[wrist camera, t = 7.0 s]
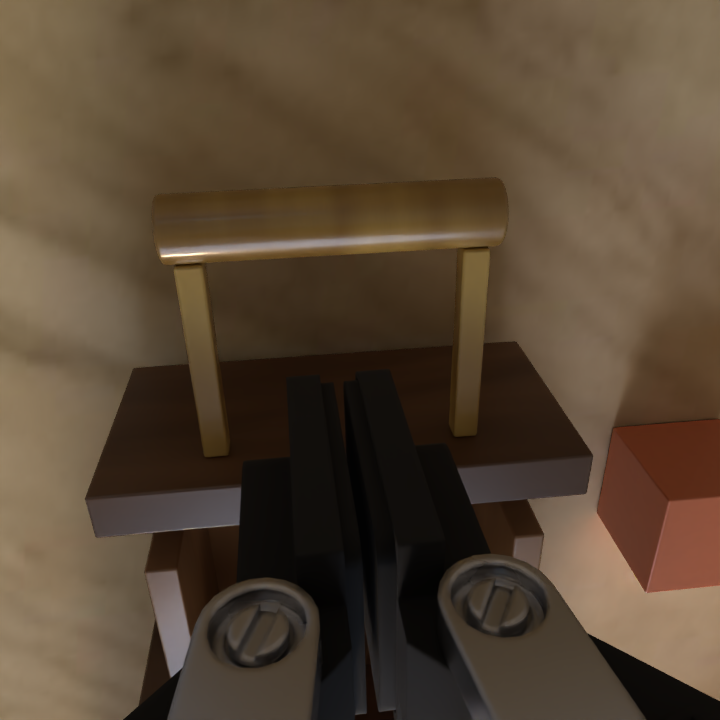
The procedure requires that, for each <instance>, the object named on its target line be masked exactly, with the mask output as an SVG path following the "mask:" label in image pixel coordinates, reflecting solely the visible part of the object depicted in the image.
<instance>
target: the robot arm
mask: <svg viewBox="0 0 720 720" xmlns="http://www.w3.org/2000/svg"><path fill="white" fill-rule="evenodd" d="M286 385H287V405H288V424H289V444H290V457H280V458H268V459H257V460H246V461H243V466H242V482H241V501H240V521H239V541H238V560H237V580H236V584H234V585H231V586H229V587H228V588H226V589H225V590H223V591H222V592H220V593H219V594H217V595H215V596H214V597H213V598H212V599H211V601H210V602H209V603H208V604H207V605H206V606H205V607H204V608H203V609H202V611H201V613H200V615H199V617H198V619H197V622H196V624H195V626H194V630H193V633H192V636H191V640H190V643H189V647H188V650H187V653H186V657H185V660H184V664H183V667H182V669H180V670H179V671H178V672H177V673H176V674H175V675H174V676H172V677H171V678H170V679H169V680H168V681H167V682H166V683H164V684H163V685H162V686H161V687H160V688H159V689H158V690H156V691H155V692H154V693H153V694H152V695H151V696H150V697H148V698H147V699H146V700H145V701H144V702H143V703H142V704H140V705H139V706H138V707H137V708H136V709H135V710H134V711H133V712H131V713H130V714H129V715H128V716H127V717H126V718H125V719H123V720H355V715H358V714H366V713H367V702H366V667H365V632H364V623H365V629H366V635H367V642H368V648H369V655H370V661H371V668H372V674H373V680H374V687H375V693H376V700H377V706H378V710H379V712H382V711H390V710H393V714H394V720H720V701H718V700H716V699H714V698H712V697H710V696H708V695H706V694H704V693H702V692H700V691H698V690H697V689H695V688H693V687H691V686H689V685H687V684H685V683H683V682H681V681H679V680H677V679H675V678H673V677H671V676H669V675H667V674H665V673H664V672H662V671H660V670H658V669H656V668H654V667H652V666H650V665H648V664H646V663H644V662H642V661H640V660H638V659H636V658H634V657H632V656H630V655H629V654H627V653H625V652H623V651H621V650H619V649H617V648H615V647H613V646H611V645H609V644H607V643H605V642H603V641H601V640H599V639H597V638H596V637H594V636H592V635H590V634H588V633H586V631H585V630H584V628H583V627H582V625H581V624H580V622H579V621H578V620H577V618H576V617H575V615H574V614H573V612H572V611H571V609H570V608H569V606H568V605H567V604H566V602H565V601H564V599H563V598H562V596H561V595H560V593H559V592H558V591H557V589H556V588H555V586H554V585H553V584H552V583H551V581H550V580H549V579H548V578H547V577H546V576H545V575H544V574H543V573H542V572H541V571H540V570H538V569H536V568H535V567H533V566H532V565H530V564H529V563H527V562H525V561H522V560H519V559H516V558H513V557H511V556H506V555H498V554H491V552H490V549H489V547H488V544H487V542H486V539H485V537H484V534H483V532H482V529H481V527H480V524H479V522H478V519H477V517H476V514H475V512H474V509H473V507H472V504H471V502H470V499H469V497H468V494H467V492H466V489H465V487H464V484H463V482H462V479H461V477H460V474H459V472H458V469H457V467H456V464H455V462H454V459H453V457H452V454H451V452H450V450H449V448H448V446H447V444H445V443H434V444H423V445H414V442H413V439H412V436H411V433H410V430H409V427H408V423H407V420H406V417H405V414H404V411H403V408H402V405H401V402H400V399H399V396H398V393H397V390H396V387H395V384H394V381H393V378H392V375H391V372H390V369H380V370H367V371H356V373H355V380H352V381H344V382H343V392H344V417H345V442H346V452H345V447H344V441H343V435H342V429H341V423H340V418H339V412H338V406H337V400H336V394H335V388H334V383H333V382H327V383H321V382H320V375H319V374H317V375H304V376H291V377H286Z"/></svg>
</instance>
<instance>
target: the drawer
mask: <svg viewBox="0 0 720 720" xmlns="http://www.w3.org/2000/svg"><path fill="white" fill-rule="evenodd" d="M508 215H509V209H508V198H507V193H506V189H505V186H504V183H503V182H502V180H501V179H499V178H496V177H494V178H474V179H454V180H433V181H413V182H393V183H373V184H352V185H332V186H312V187H292V188H271V189H251V190H231V191H211V192H190V193H170V194H158V195H156V196H155V197H154V200H153V204H152V229H153V237H154V243H155V247H156V251H157V254H158V257H159V259H160V261H161V263H162V264H165V265H175V266H174V269H173V271H174V277H175V283H176V289H177V295H178V301H179V307H180V313H181V319H182V326H183V332H184V338H185V344H186V350H187V356H188V362H189V364H184V365H170V366H155V367H141V368H134V369H133V371H132V374H131V377H130V379H129V382H128V385H127V387H126V390H125V393H124V395H123V398H122V401H121V403H120V406H119V409H118V411H117V414H116V417H115V419H114V422H113V425H112V427H111V430H110V433H109V436H108V438H107V441H106V444H105V446H104V449H103V452H102V454H101V457H100V460H99V462H98V465H97V468H96V470H95V473H94V476H93V478H92V481H91V484H90V486H89V489H88V492H87V495H86V497H85V500H86V504H87V507H88V511H89V515H90V518H91V522H92V525H93V529H94V533H95V536H96V537H97V538H101V537H113V536H124V535H135V534H146V533H153V536H152V541H151V545H150V550H149V554H148V558H147V563H146V567H145V572H144V573H145V577H146V581H147V585H148V589H149V593H150V598H151V602H152V606H153V610H154V614H155V618H156V623H157V627H158V631H159V635H160V639H161V643H162V647H163V652H164V656H165V660H166V664H167V668H168V672H169V676H170V678H171V677H172V676H174V675H175V674H176V673H177V672H178V671H179V670H180V669H182V667H183V664H184V660H185V657H186V653H187V650H188V647H189V643H190V640H191V636H192V633H193V630H194V626H195V624H196V622H197V619H198V617H199V615H200V613H201V611H202V609H203V608H204V607H205V606H206V605H207V604H208V603H209V602H210V601H211V599H212V598H213V597H214V596H215V595H217V594H219V593H220V592H222V591H223V590H225V589H226V588H228V587H229V586H231V585H234V584H236V580H237V560H238V541H239V521H240V501H241V482H242V466H243V461H246V460H257V459H268V458H280V457H290V444H289V424H288V405H287V385H286V377H291V376H304V375H317V374H319V375H320V382H321V383H327V382H333V383H334V388H335V394H336V400H337V406H338V412H339V418H340V423H341V429H342V435H343V441H344V447H345V452H346V442H345V417H344V392H343V382H344V381H352V380H355V373H356V371H367V370H380V369H390V372H391V375H392V378H393V381H394V384H395V387H396V390H397V393H398V396H399V399H400V402H401V405H402V408H403V411H404V414H405V417H406V420H407V423H408V427H409V430H410V433H411V436H412V439H413V442H414V445H423V444H434V443H445V444H447V446H448V448H449V450H450V452H451V454H452V457H453V459H454V462H455V464H456V467H457V469H458V472H459V474H460V477H461V479H462V482H463V484H464V487H465V489H466V492H467V494H468V497H469V499H470V502H471V504H472V507H473V509H474V512H475V514H476V517H477V519H478V522H479V524H480V527H481V529H482V532H483V534H484V537H485V539H486V542H487V544H488V547H489V549H490V552H491V554H498V555H506V556H511V557H513V558H516V559H519V560H522V561H525V562H527V563H529V564H530V565H532V566H533V567H535V568H536V569H538V570H539V566H540V559H541V553H542V546H543V539H544V533H543V531H542V529H541V527H540V525H539V523H538V521H537V519H536V517H535V515H534V513H533V511H532V509H531V507H530V505H529V502H528V500H527V499H535V498H546V497H557V496H569V495H580V494H586V492H587V488H588V482H589V476H590V471H591V465H592V460H593V454H592V453H591V451H590V450H589V448H588V447H587V445H586V444H585V442H584V441H583V439H582V438H581V436H580V435H579V433H578V432H577V430H576V429H575V427H574V426H573V424H572V423H571V422H570V420H569V419H568V417H567V416H566V414H565V413H564V411H563V410H562V408H561V407H560V405H559V404H558V402H557V401H556V399H555V398H554V396H553V395H552V393H551V392H550V390H549V389H548V387H547V386H546V384H545V383H544V381H543V380H542V379H541V377H540V376H539V374H538V373H537V371H536V370H535V368H534V367H533V365H532V364H531V362H530V361H529V359H528V358H527V356H526V355H525V353H524V352H523V350H522V349H521V347H520V346H519V344H518V343H517V342H515V341H513V342H498V343H484V332H485V319H486V305H487V292H488V278H489V265H490V252H491V251H490V249H489V248H488V246H498V245H500V244H501V243H502V242H503V240H504V238H505V235H506V231H507V226H508ZM451 248H458V251H457V271H456V291H455V311H454V331H453V346H441V347H427V348H413V349H398V350H384V351H370V352H355V353H341V354H327V355H313V356H298V357H284V358H270V359H255V360H241V361H227V362H219V356H218V349H217V341H216V334H215V327H214V320H213V313H212V305H211V298H210V291H209V284H208V277H207V269H206V263H210V262H227V261H244V260H262V259H279V258H296V257H313V256H331V255H348V254H365V253H382V252H400V251H417V250H434V249H451ZM364 632H365V667H366V702H367V713H366V714H358V715H355V720H379V719H387V718H394V714H393V710H390V711H382V712H379V710H378V706H377V700H376V693H375V687H374V680H373V674H372V668H371V661H370V655H369V648H368V642H367V635H366V629H365V623H364Z"/></svg>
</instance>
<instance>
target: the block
mask: <svg viewBox="0 0 720 720" xmlns="http://www.w3.org/2000/svg"><path fill="white" fill-rule="evenodd" d="M597 514H598V515H599V517H600V519H601V520H602V522H603V524H604V525H605V527H606V528H607V530H608V532H609V533H610V535H611V537H612V538H613V540H614V542H615V543H616V545H617V547H618V548H619V550H620V551H621V553H622V555H623V556H624V558H625V560H626V561H627V563H628V565H629V566H630V568H631V570H632V571H633V573H634V575H635V576H636V578H637V579H638V581H639V583H640V584H641V586H642V588H643V589H644V591H645V592H646V593H651V592H660V591H670V590H680V589H689V588H699V587H709V586H719V585H720V419H712V420H700V421H688V422H675V423H663V424H651V425H639V426H626V427H614V428H613V432H612V437H611V442H610V448H609V453H608V458H607V463H606V469H605V474H604V479H603V484H602V490H601V495H600V500H599V505H598V510H597Z"/></svg>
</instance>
